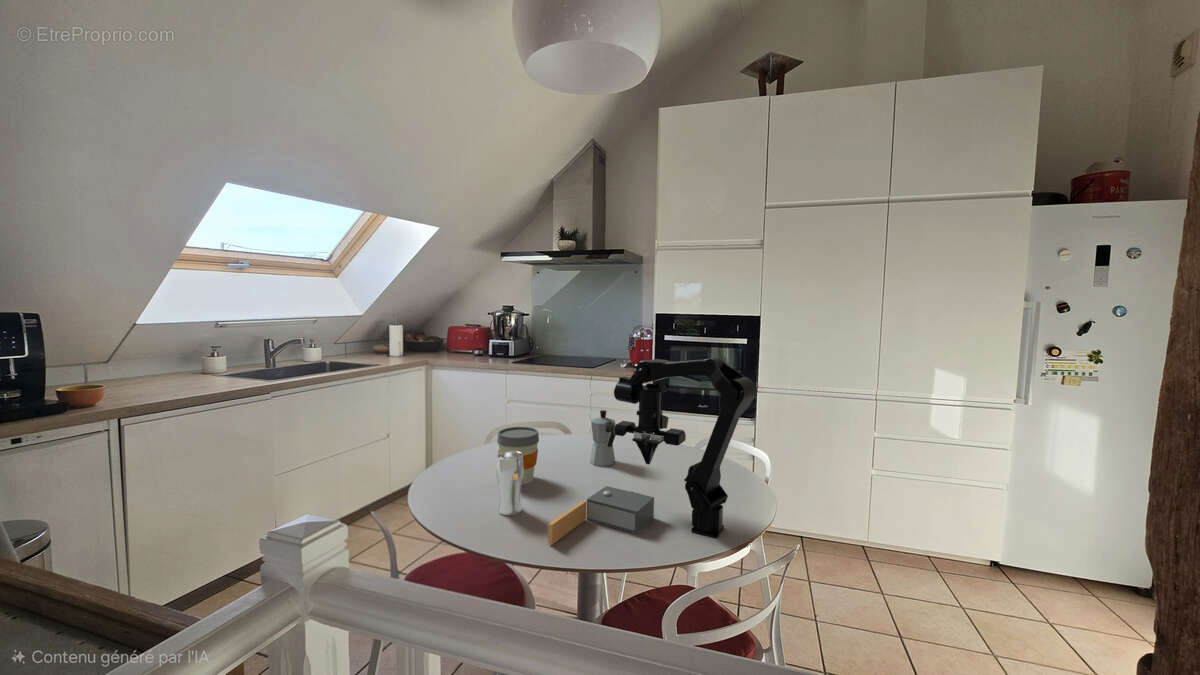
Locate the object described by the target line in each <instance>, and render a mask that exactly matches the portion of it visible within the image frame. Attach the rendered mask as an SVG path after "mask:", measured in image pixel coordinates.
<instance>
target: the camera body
mask: <svg viewBox="0 0 1200 675" xmlns="http://www.w3.org/2000/svg"><path fill="white" fill-rule="evenodd" d="M654 508H655V497H654V496H651V495H647V494H642V493H637V492H635V491H629V490H624V489H620V488H616V487H613V486H608V485H606V486H604V487H602V488H601V489H600V490H597V492H595V493H594V494H592V495H591V496H589V497H588V498H587V499H586V520H587V521H590V522H592V523H597V524H600V525H604V526H607V527H610V528H615V529H618V530H620V531H621V530H622V531H625V532H629V533H632V534H636V535H637V534H639V532H640V531H642V529H644V528H645V527H647V525H648V524H649V523H650V522H651V521H652V520H653V519H654V516H655V514H654V511H655V509H654Z"/></svg>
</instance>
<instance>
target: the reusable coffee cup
mask: <svg viewBox="0 0 1200 675" xmlns="http://www.w3.org/2000/svg"><path fill="white" fill-rule="evenodd" d="M539 439H540V438H539V431H538V429H536V428H533V427H527V426H513V427H505V428H502V429H500V430H499V431H498V432H497V444H498V451H497V453H498V454H500V453H502V452H507V451H516V452H520V453H522V454H523V468H524V472H523V482H522V486H524V484H525V485H528V484H530V483H532V482H533V481H532V480H534V472H535V466H536V465H537V463H538V461H537V460H538V453H539V452H538V451H539V449H538V443H539V442H540V440H539ZM498 454H497V455H498ZM531 481H532V482H531ZM527 483H528V484H527Z"/></svg>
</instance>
